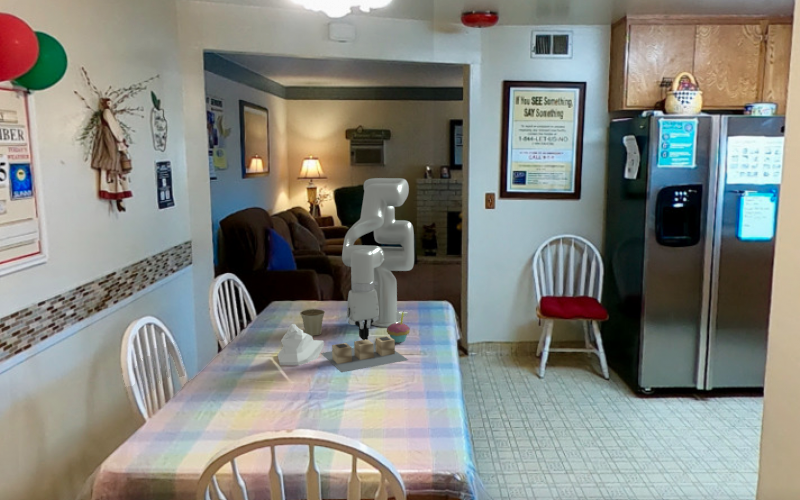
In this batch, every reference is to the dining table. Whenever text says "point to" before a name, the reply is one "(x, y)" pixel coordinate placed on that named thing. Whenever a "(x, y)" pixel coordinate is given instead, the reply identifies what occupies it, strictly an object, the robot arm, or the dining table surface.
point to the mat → (365, 361)
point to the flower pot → (312, 321)
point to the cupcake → (398, 331)
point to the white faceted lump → (299, 347)
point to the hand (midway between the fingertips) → (364, 338)
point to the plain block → (363, 349)
